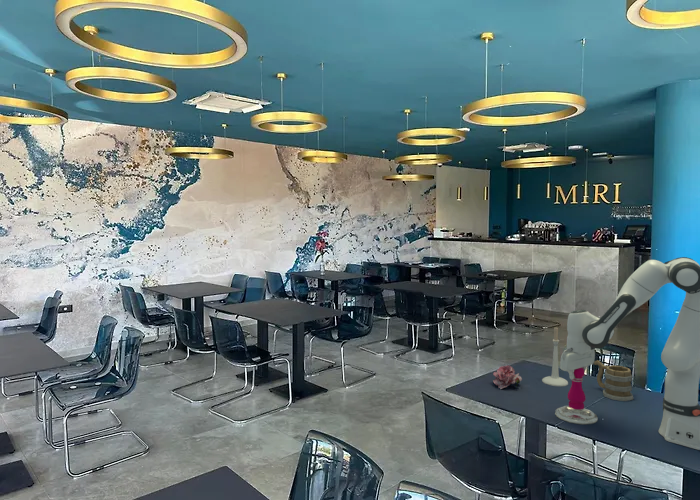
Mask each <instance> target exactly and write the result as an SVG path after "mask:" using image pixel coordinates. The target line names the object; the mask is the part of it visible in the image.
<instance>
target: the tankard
mask: <svg viewBox="0 0 700 500" xmlns="http://www.w3.org/2000/svg"><path fill="white" fill-rule="evenodd" d="M593 365H595V366H598V372H597V376H596V381H597V382H596V383H597V384H598V386H599V387H600V388H602V395H603V396H604V397H605V398H608V399H610V400H612V401H620V402H629V401H633V400H634V396H633V393H632V390H633V386H632V381H633V375H632V371H631V369H630V368H628V367H625V366H623V365H616V364H615V365H605V364H604V363H602V361H600V360H598V359H597V360H594V363H593ZM604 370H605V371H604ZM603 375H604V376H605V380H604V383H603V379H602V377H603Z"/></svg>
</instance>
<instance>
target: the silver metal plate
mask: <svg viewBox="0 0 700 500" xmlns="http://www.w3.org/2000/svg"><path fill="white" fill-rule="evenodd" d="M554 412H555V413H554V415H555V416H556V417H557V419H559V420H562V421H564V422H567V423H570V424H574V425H575V424H576V425H584V426H585V425H594V424H596V423H598V421H599V419H598V418H599V417H598V415H597V414H596V413H594V412H593V411H592V410H590V409H587V408H585V407H584V409H581V410H577V409H572V408H570V407H569V405H564V406H560V407H557V408H556V409H555V410H554Z"/></svg>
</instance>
